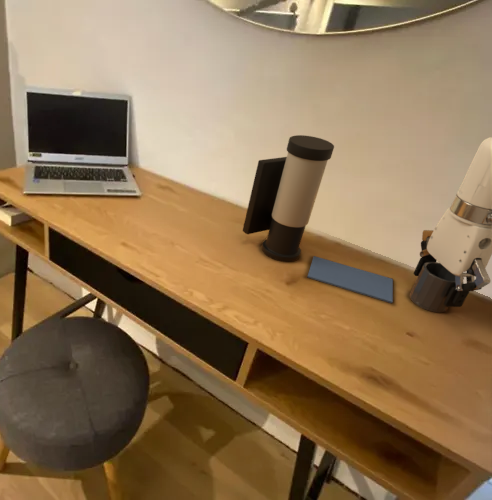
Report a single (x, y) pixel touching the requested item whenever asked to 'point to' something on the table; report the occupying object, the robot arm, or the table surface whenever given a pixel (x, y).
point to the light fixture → (287, 195)
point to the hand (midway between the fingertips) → (435, 289)
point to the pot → (432, 287)
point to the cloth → (352, 279)
